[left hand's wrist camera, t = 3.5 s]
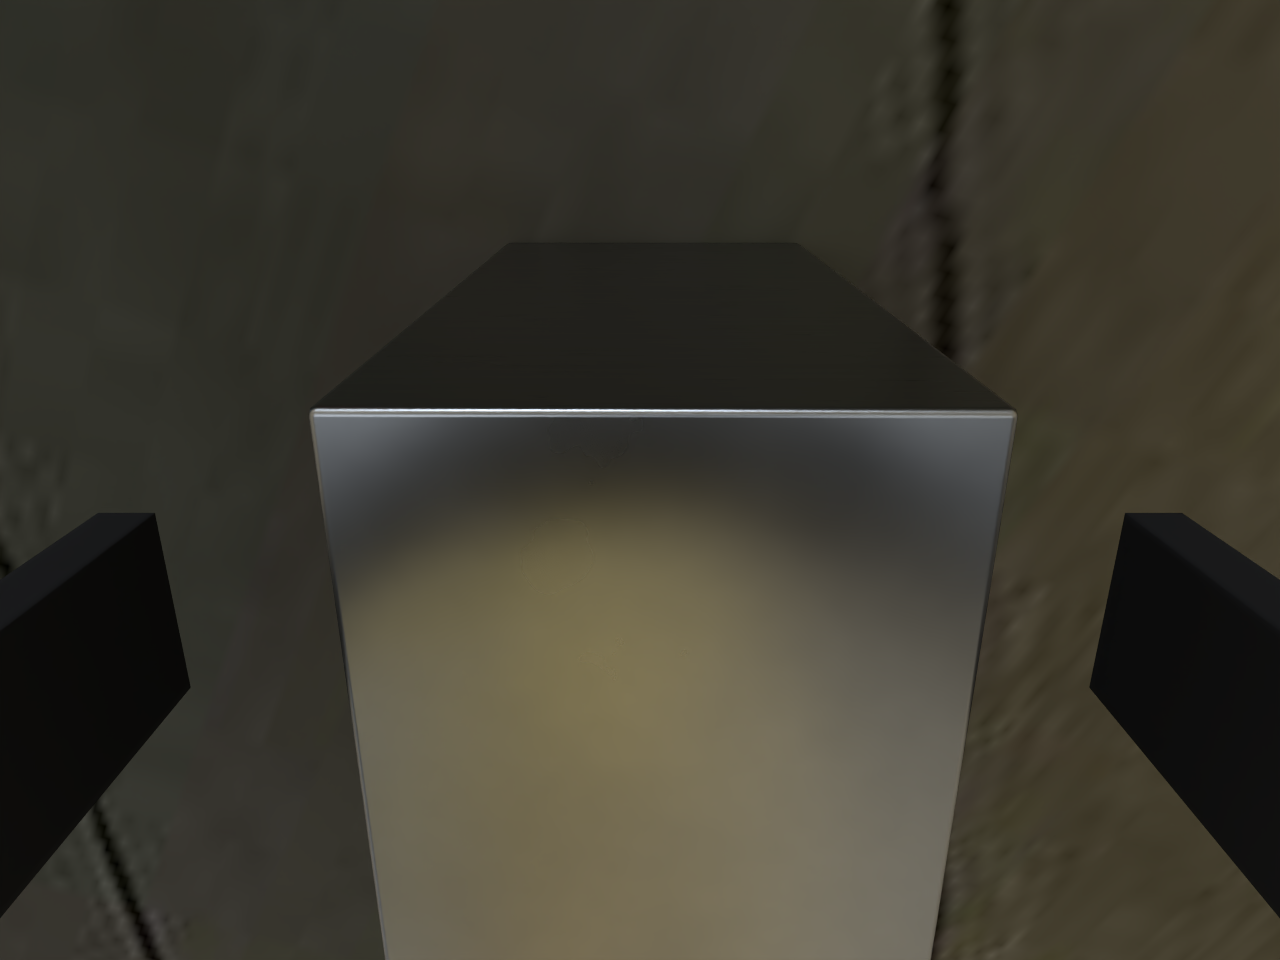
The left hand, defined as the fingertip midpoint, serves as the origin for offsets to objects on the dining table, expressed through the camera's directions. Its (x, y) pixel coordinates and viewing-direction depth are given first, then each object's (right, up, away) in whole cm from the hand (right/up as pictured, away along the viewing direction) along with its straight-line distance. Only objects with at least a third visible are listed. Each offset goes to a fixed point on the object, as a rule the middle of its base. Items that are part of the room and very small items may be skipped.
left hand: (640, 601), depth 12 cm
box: (0, -6, +11) cm, 12 cm away
